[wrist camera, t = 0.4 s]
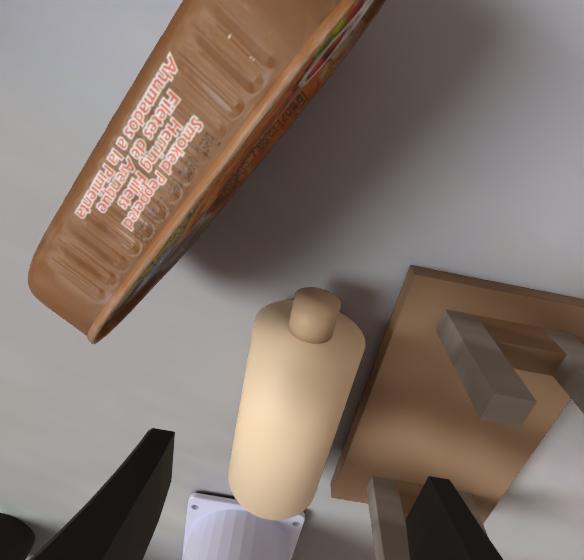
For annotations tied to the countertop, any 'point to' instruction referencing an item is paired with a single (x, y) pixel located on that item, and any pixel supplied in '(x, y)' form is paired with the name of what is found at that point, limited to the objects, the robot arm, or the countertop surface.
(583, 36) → the countertop surface
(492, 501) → the holder
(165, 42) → the tin
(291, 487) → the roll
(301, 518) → the robot arm
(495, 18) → the countertop surface
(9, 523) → the drinking cup
